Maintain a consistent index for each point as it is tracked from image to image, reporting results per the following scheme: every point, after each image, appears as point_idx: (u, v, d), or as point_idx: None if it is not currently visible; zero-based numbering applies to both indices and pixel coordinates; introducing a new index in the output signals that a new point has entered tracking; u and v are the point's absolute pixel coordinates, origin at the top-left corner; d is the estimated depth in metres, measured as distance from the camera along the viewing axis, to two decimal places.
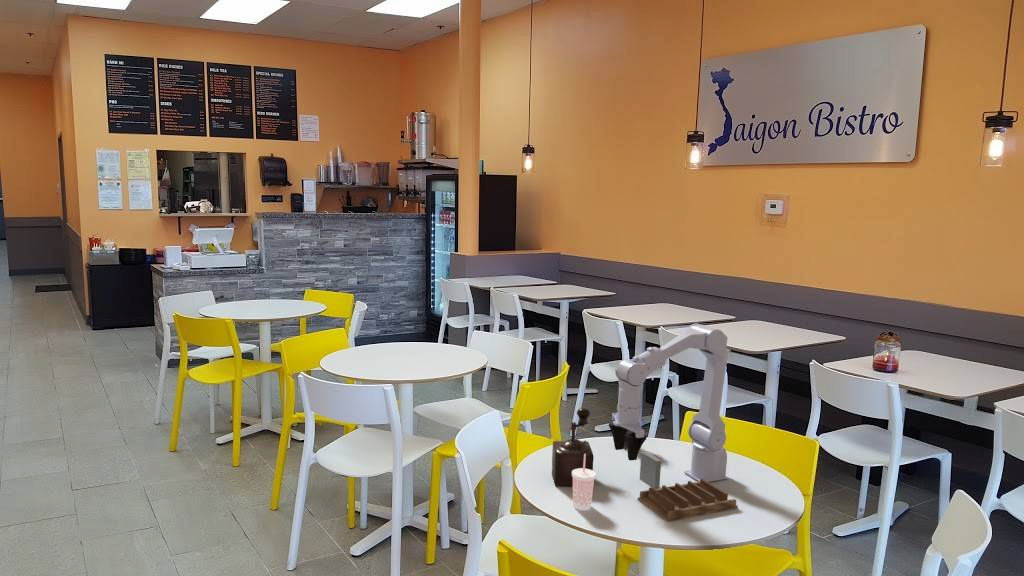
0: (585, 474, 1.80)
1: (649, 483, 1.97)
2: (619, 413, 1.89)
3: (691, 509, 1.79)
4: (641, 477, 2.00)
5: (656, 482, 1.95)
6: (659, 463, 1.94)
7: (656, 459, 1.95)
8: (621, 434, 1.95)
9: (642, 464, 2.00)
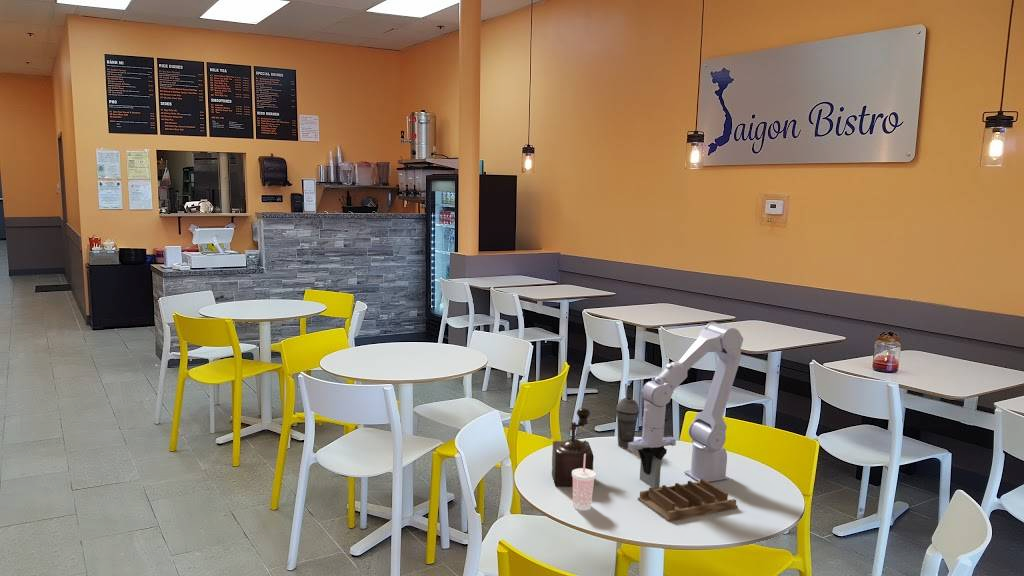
0: (585, 474, 1.80)
1: (649, 483, 1.97)
2: None
3: (691, 509, 1.79)
4: (641, 477, 2.00)
5: (656, 482, 1.95)
6: (659, 463, 1.94)
7: (656, 459, 1.95)
8: None
9: None
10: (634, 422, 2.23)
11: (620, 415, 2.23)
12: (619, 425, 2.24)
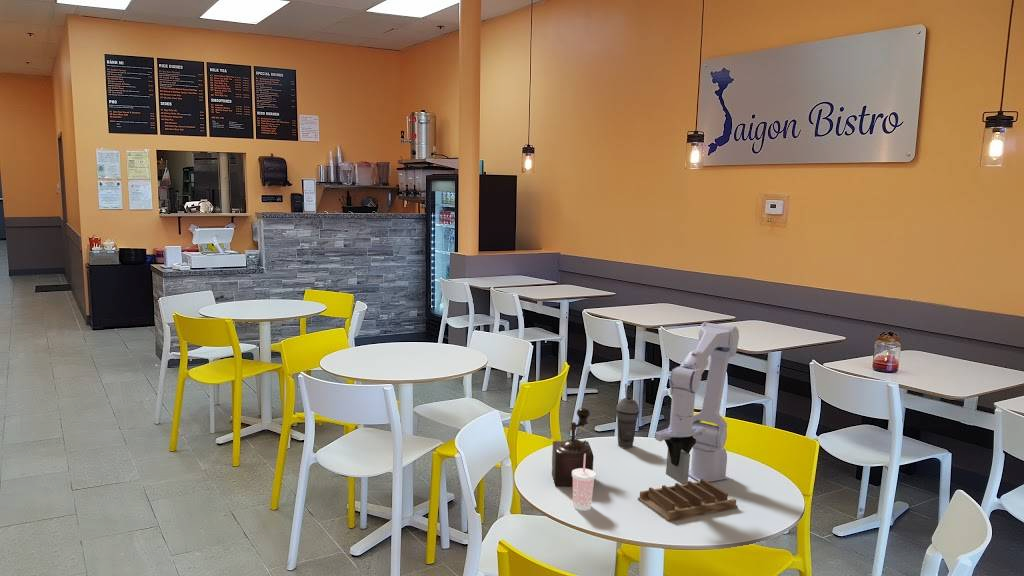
0: (585, 474, 1.80)
1: (677, 478, 1.85)
2: None
3: (691, 509, 1.79)
4: (668, 472, 1.89)
5: (684, 477, 1.83)
6: (688, 457, 1.83)
7: (685, 453, 1.83)
8: (683, 448, 1.86)
9: (669, 458, 1.88)
10: (634, 422, 2.23)
11: (620, 415, 2.23)
12: (619, 425, 2.24)
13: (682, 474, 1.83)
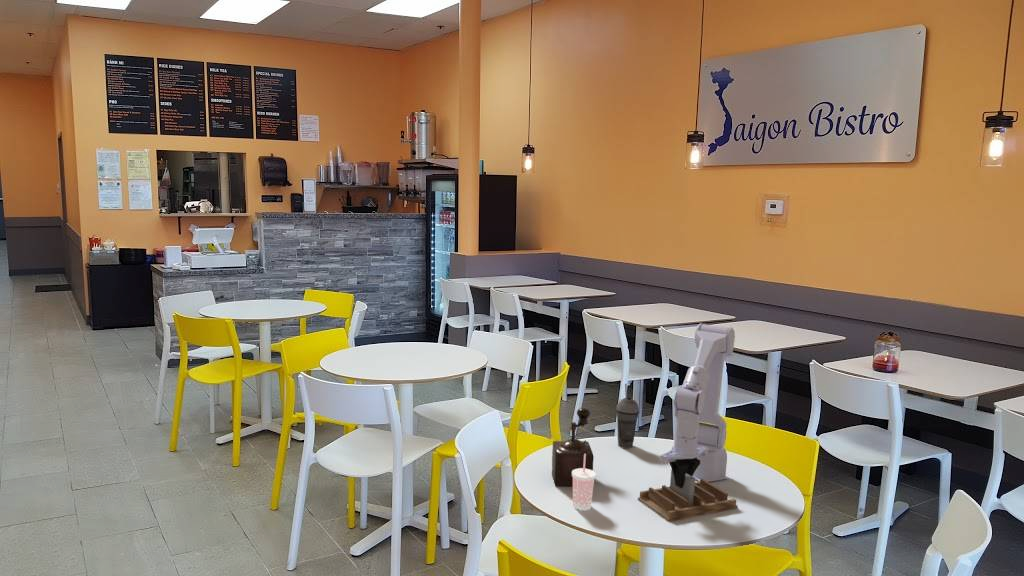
0: (585, 474, 1.80)
1: None
2: None
3: (691, 509, 1.79)
4: None
5: (690, 501, 1.82)
6: (693, 481, 1.82)
7: (689, 476, 1.82)
8: (687, 469, 1.84)
9: (672, 482, 1.87)
10: (634, 422, 2.23)
11: (620, 415, 2.23)
12: (619, 425, 2.24)
13: (687, 498, 1.82)
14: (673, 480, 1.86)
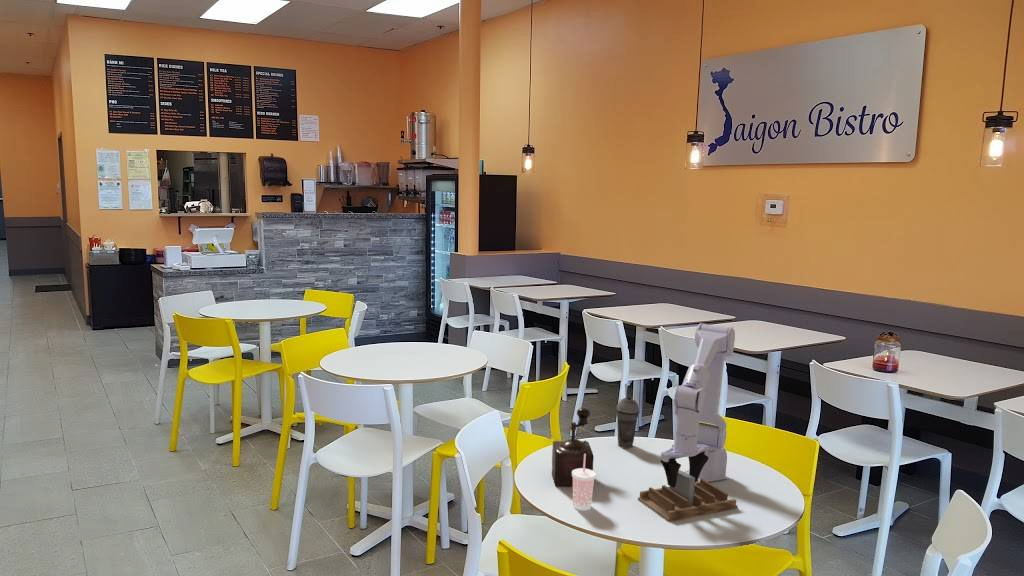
0: (585, 474, 1.80)
1: None
2: None
3: (691, 509, 1.79)
4: None
5: (690, 501, 1.82)
6: (693, 481, 1.82)
7: (689, 476, 1.82)
8: (695, 465, 1.86)
9: None
10: (634, 422, 2.23)
11: (620, 415, 2.23)
12: (619, 425, 2.24)
13: (687, 498, 1.82)
14: None
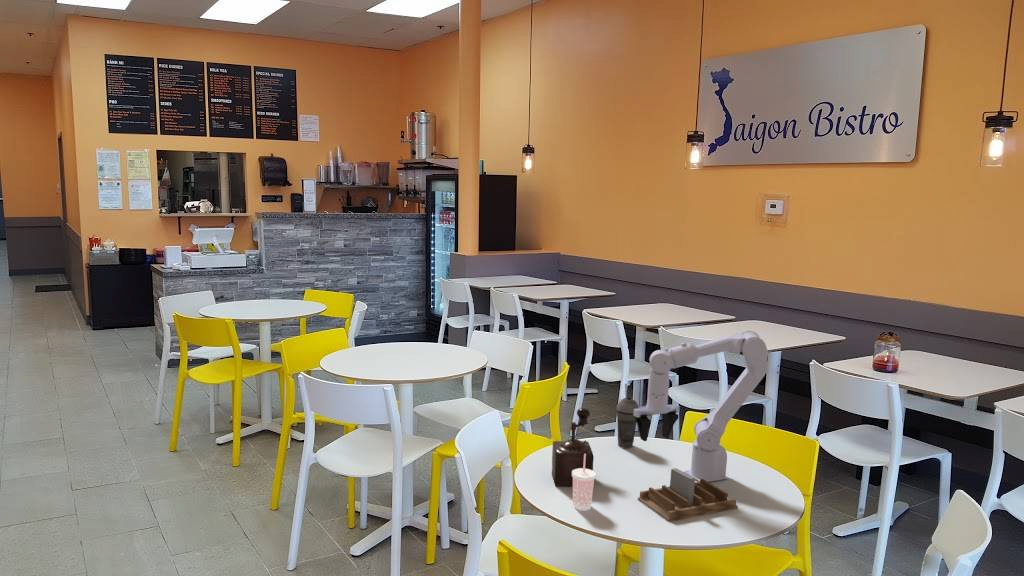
0: (585, 474, 1.80)
1: None
2: None
3: (691, 509, 1.79)
4: None
5: (690, 501, 1.82)
6: (693, 481, 1.82)
7: (689, 476, 1.82)
8: (667, 423, 2.06)
9: (672, 482, 1.87)
10: (634, 422, 2.23)
11: (620, 415, 2.23)
12: (619, 425, 2.24)
13: (687, 498, 1.82)
14: (673, 480, 1.86)
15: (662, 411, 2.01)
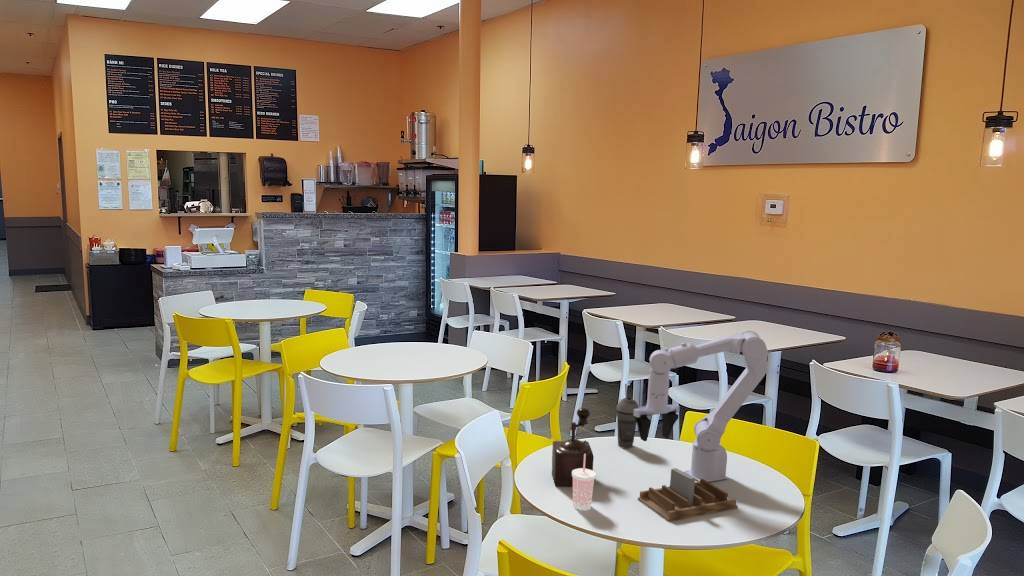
0: (585, 474, 1.80)
1: None
2: None
3: (691, 509, 1.79)
4: None
5: (690, 501, 1.82)
6: (693, 481, 1.82)
7: (689, 476, 1.82)
8: (667, 423, 2.06)
9: (672, 482, 1.87)
10: (634, 422, 2.23)
11: (620, 415, 2.23)
12: (619, 425, 2.24)
13: (687, 498, 1.82)
14: (673, 480, 1.86)
15: (662, 411, 2.01)
